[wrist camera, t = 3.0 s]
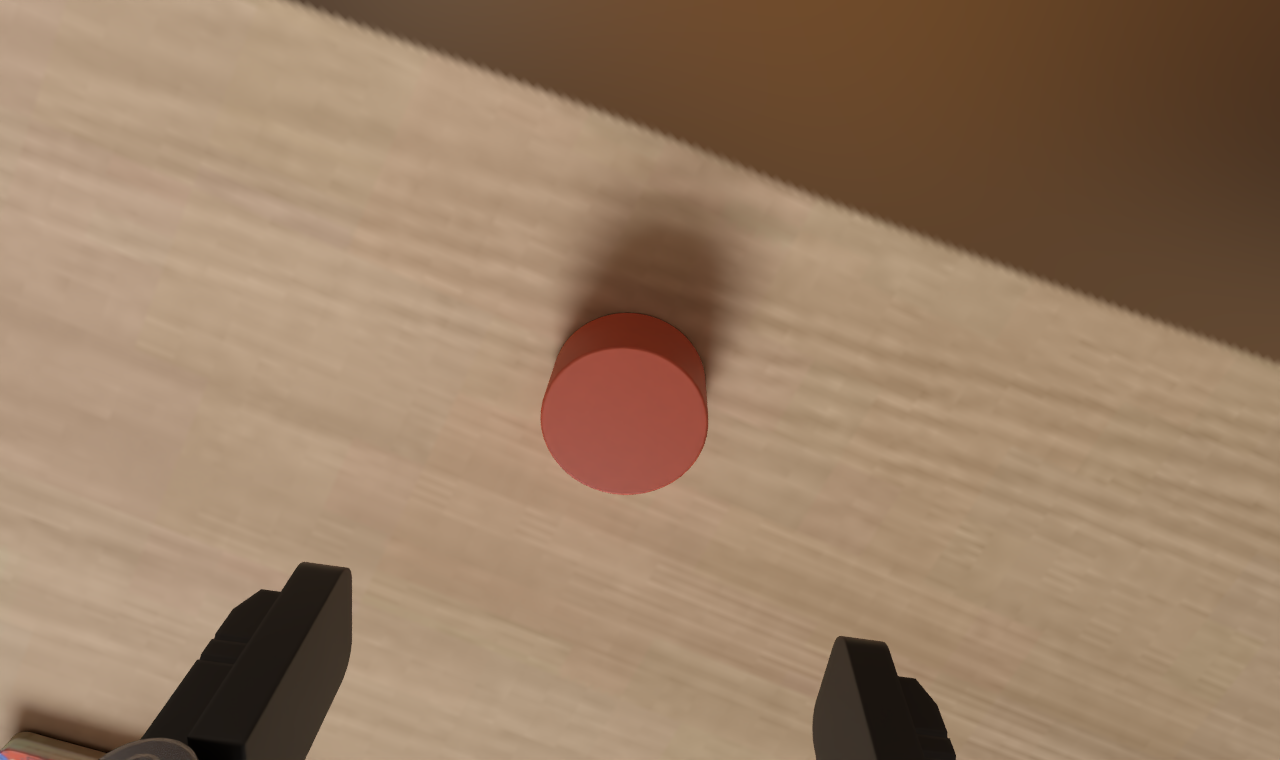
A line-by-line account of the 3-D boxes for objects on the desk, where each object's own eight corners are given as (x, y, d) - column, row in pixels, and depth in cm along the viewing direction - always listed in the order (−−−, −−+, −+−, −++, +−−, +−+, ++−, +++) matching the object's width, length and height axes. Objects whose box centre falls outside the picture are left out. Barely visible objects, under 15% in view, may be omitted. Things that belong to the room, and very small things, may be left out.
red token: (630, 280, 22) (625, 311, 20) (737, 387, 23) (743, 428, 21) (521, 380, 23) (505, 419, 21) (627, 476, 25) (622, 523, 22)
